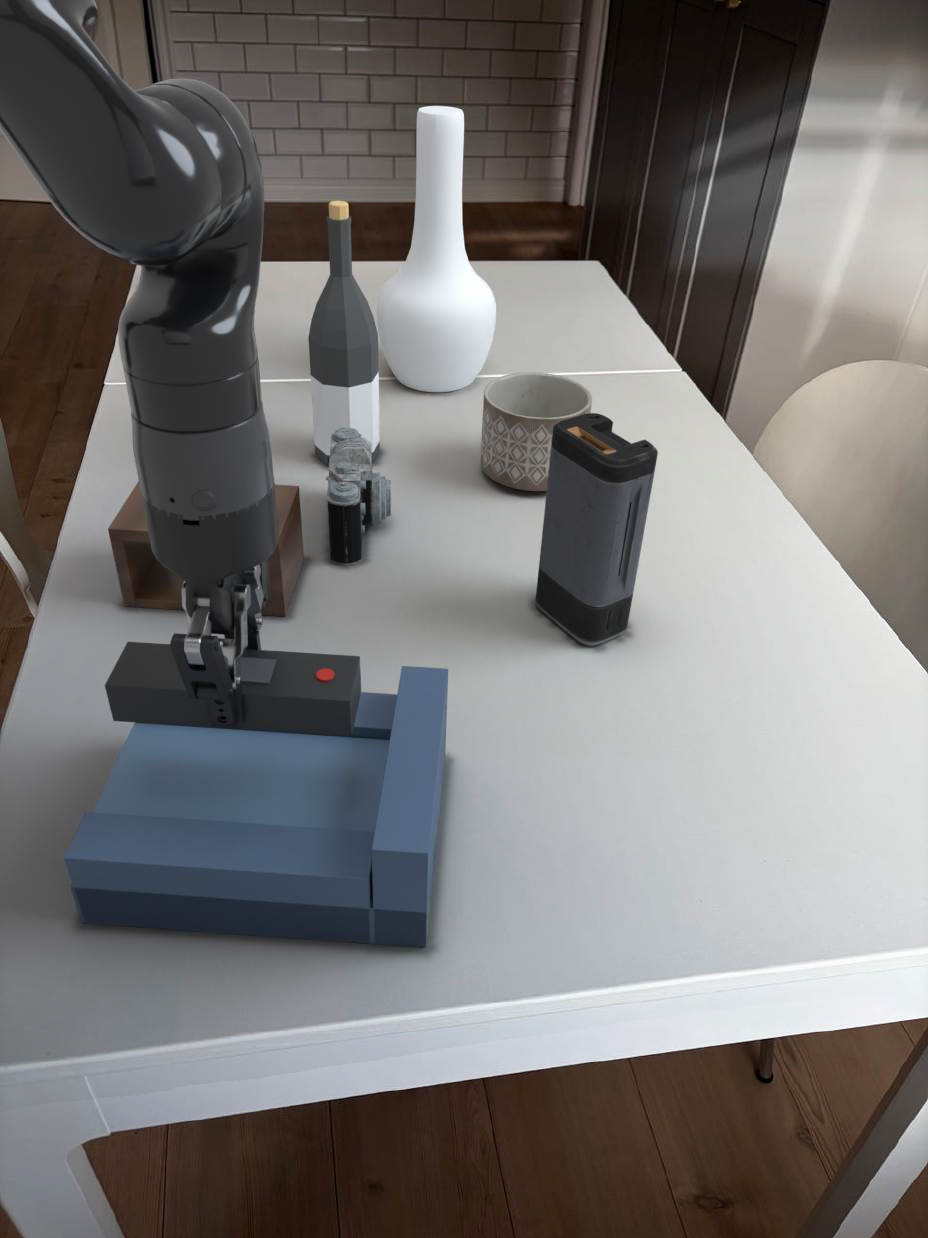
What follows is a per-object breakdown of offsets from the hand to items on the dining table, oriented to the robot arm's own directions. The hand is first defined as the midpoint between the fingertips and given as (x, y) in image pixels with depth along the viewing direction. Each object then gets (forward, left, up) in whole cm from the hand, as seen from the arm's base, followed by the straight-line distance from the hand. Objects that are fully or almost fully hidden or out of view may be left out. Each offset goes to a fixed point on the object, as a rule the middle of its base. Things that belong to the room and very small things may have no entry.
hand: (237, 698), depth 67 cm
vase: (+7, +86, -14) cm, 87 cm away
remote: (0, 0, -1) cm, 1 cm away
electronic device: (+26, +30, -14) cm, 42 cm away
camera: (+2, +44, -14) cm, 46 cm away
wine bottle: (-2, +61, -14) cm, 63 cm away
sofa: (+2, 0, -14) cm, 14 cm away
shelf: (-11, +32, -14) cm, 37 cm away
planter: (+21, +59, -14) cm, 64 cm away
